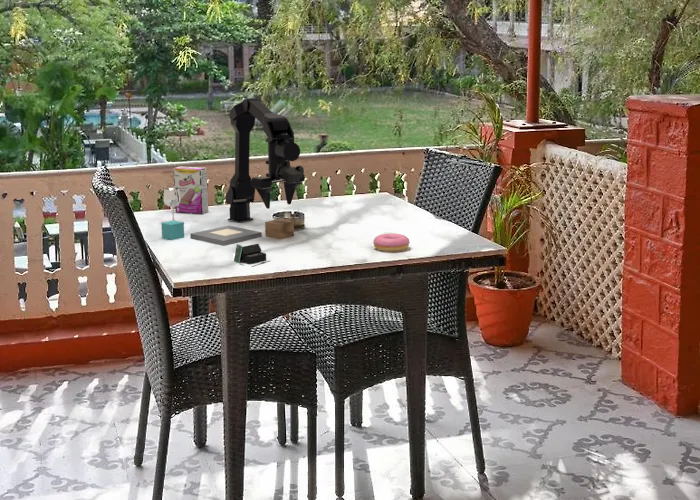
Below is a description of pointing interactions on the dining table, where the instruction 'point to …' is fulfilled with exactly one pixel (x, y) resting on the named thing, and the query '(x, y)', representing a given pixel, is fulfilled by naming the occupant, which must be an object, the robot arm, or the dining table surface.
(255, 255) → the dark stepped block
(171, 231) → the teal block
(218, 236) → the base plate
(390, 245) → the doughnut
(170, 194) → the wineglass
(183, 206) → the candy bar box
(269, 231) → the walnut block
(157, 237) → the dining table surface
